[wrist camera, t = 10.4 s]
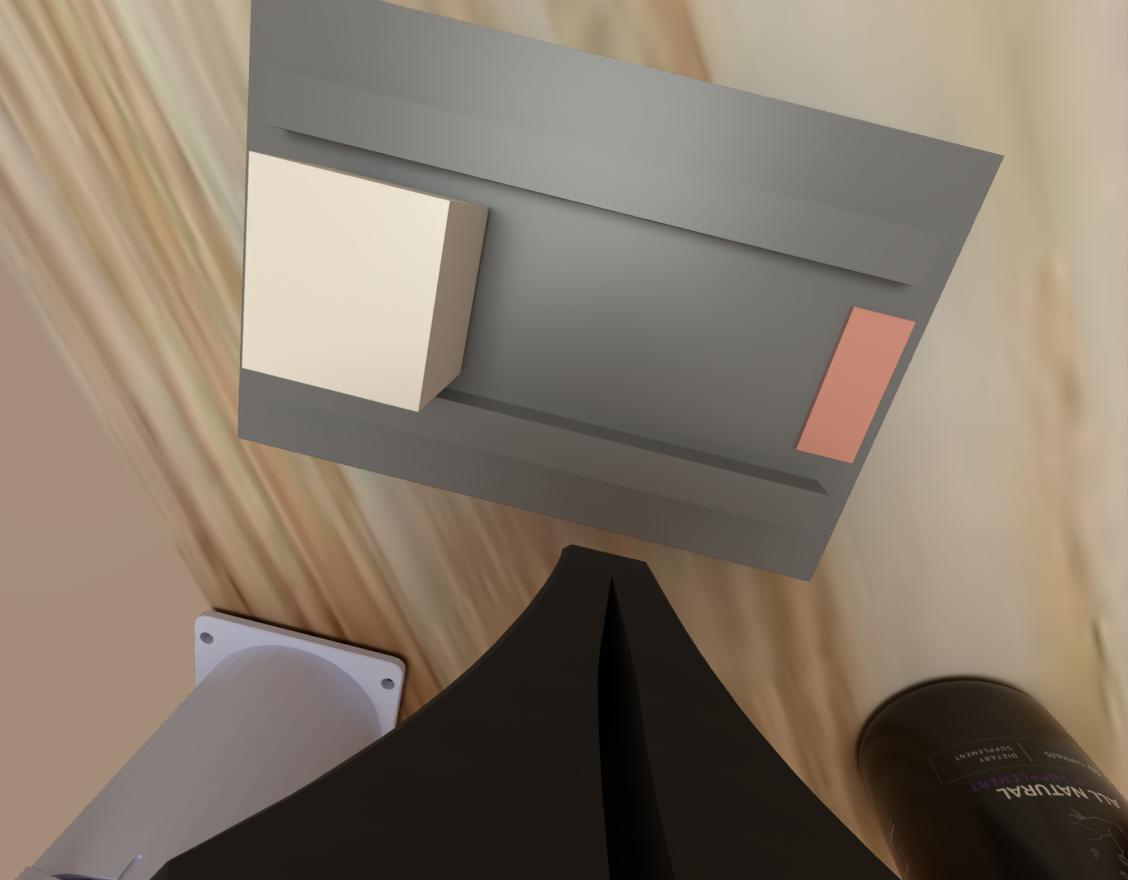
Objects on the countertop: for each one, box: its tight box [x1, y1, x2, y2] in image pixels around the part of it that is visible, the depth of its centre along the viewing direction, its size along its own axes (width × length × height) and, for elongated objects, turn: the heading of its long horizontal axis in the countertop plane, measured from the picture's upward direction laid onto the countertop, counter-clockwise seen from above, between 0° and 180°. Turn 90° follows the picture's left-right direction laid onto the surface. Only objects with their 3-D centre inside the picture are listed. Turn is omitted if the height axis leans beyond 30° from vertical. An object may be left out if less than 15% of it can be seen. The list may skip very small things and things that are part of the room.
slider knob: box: [242, 151, 489, 412], centre depth 14 cm, size 4×4×4 cm
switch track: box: [238, 0, 1004, 582], centre depth 16 cm, size 12×18×2 cm, turn 77°
